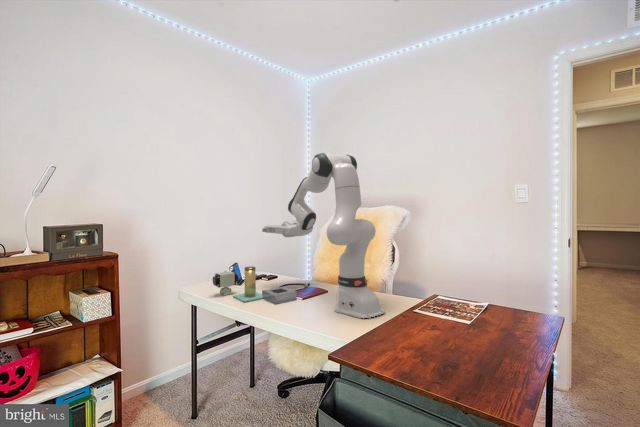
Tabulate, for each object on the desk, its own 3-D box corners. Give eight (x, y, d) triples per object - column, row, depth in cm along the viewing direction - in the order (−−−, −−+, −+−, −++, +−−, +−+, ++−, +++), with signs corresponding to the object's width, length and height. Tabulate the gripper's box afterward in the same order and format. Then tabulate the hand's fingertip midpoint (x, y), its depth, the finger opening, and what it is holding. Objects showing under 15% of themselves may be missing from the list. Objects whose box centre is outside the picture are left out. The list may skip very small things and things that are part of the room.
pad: (266, 298, 162) (266, 296, 162) (244, 302, 154) (244, 301, 154) (255, 293, 171) (255, 291, 171) (233, 297, 164) (233, 295, 164)
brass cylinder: (257, 296, 162) (257, 267, 162) (247, 298, 159) (247, 268, 159) (252, 294, 166) (252, 266, 166) (242, 295, 163) (242, 267, 163)
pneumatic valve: (238, 293, 170) (238, 270, 170) (216, 297, 163) (215, 273, 162) (233, 291, 174) (233, 268, 174) (211, 295, 167) (211, 271, 167)
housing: (296, 299, 160) (296, 291, 159) (275, 304, 152) (275, 295, 152) (283, 294, 169) (283, 286, 169) (262, 298, 161) (262, 290, 161)
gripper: (275, 222, 188) (256, 223, 178) (301, 224, 175) (282, 225, 164) (275, 233, 188) (256, 235, 178) (301, 236, 175) (282, 238, 164)
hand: (268, 230), depth 171 cm, fingers open, 8 cm apart
